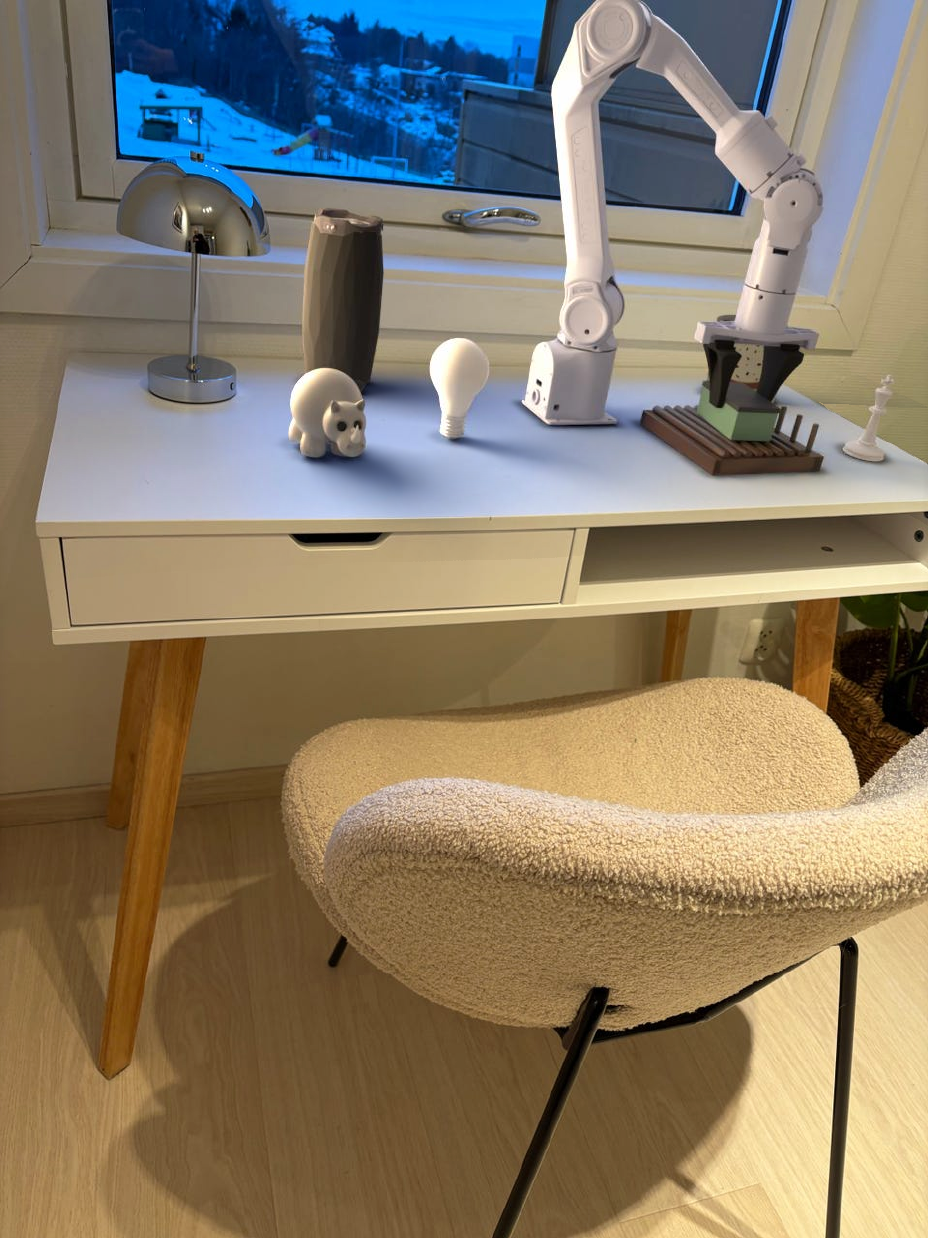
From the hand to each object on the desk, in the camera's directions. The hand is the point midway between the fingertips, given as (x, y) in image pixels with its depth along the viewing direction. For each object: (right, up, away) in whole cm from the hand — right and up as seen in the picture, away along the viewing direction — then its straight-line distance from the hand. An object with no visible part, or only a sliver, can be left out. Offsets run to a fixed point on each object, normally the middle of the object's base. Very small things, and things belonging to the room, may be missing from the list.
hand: (738, 406), depth 119 cm
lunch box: (0, -2, +1) cm, 3 cm away
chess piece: (+17, -5, +7) cm, 19 cm away
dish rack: (-1, -4, +3) cm, 5 cm away
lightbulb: (-34, -5, -7) cm, 35 cm away
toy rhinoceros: (-46, -9, -16) cm, 49 cm away
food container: (+6, +7, +24) cm, 25 cm away
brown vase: (-48, +3, +4) cm, 48 cm away
